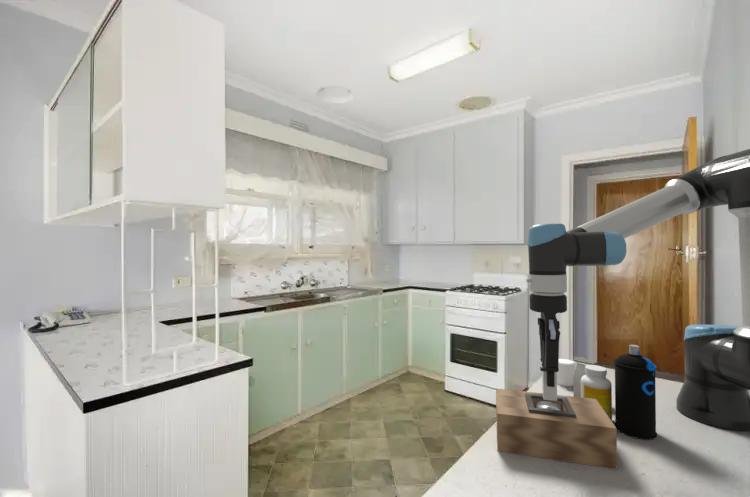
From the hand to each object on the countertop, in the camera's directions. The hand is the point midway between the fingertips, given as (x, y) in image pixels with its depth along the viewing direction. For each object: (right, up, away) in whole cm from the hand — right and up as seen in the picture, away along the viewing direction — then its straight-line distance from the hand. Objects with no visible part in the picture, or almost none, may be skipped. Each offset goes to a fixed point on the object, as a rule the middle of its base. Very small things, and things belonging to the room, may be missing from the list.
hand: (549, 398), depth 79 cm
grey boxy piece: (+21, -10, +20) cm, 31 cm away
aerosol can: (+22, -10, +4) cm, 25 cm away
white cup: (+21, -10, +34) cm, 41 cm away
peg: (0, -10, 0) cm, 10 cm away
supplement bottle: (+17, -10, +10) cm, 22 cm away
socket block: (0, -10, 0) cm, 10 cm away
